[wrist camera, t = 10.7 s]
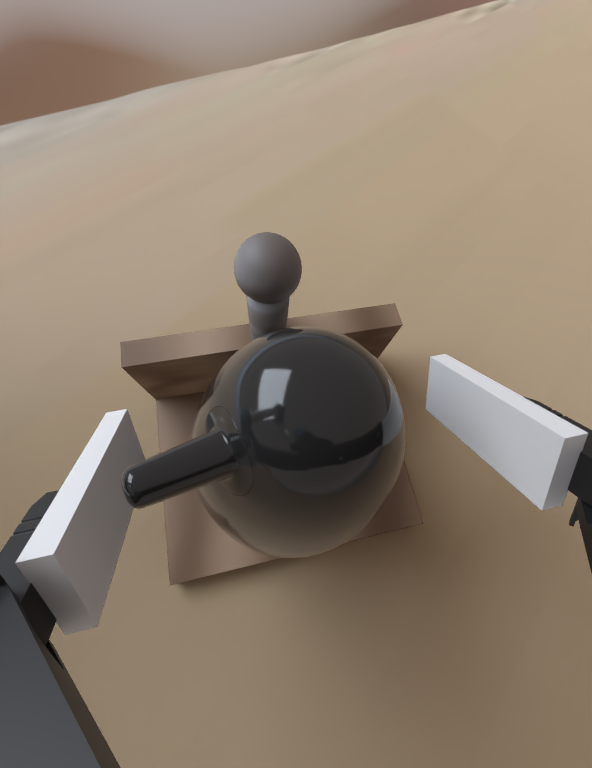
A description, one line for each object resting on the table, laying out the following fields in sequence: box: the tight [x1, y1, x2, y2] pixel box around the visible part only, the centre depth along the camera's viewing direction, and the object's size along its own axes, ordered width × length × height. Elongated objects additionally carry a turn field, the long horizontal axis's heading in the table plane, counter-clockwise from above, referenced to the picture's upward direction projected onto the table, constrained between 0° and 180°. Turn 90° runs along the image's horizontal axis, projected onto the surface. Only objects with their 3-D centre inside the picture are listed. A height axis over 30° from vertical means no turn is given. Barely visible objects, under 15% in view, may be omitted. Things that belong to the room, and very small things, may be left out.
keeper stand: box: [121, 232, 423, 585], centre depth 17 cm, size 16×14×14 cm
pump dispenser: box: [121, 326, 406, 558], centre depth 15 cm, size 10×10×15 cm
